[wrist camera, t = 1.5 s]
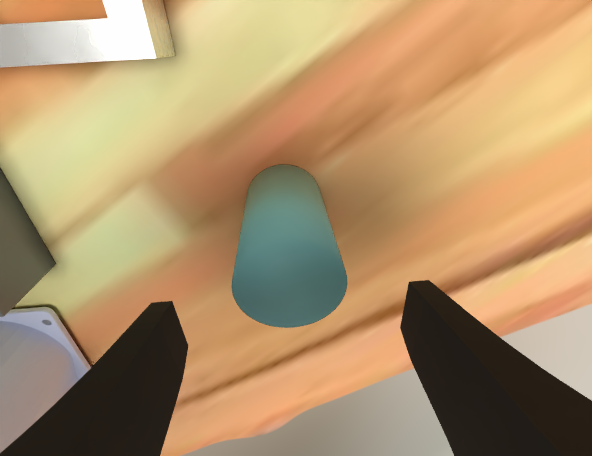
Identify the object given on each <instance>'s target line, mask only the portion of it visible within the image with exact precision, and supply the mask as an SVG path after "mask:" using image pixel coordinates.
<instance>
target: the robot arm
mask: <svg viewBox="0 0 592 456" xmlns="http://www.w3.org/2000/svg"><path fill="white" fill-rule="evenodd" d="M400 328H401V331H402V334H403V338H404V341H405V344H406V347H407V350H408V353H409V356H410V359H411V361H412V363H413V366H414V368H415V370H416V372H417V374H418V377H419V379H420V381H421V383H422V385H423V388H424V390H425V392H426V394H427V396H428V398H429V400H430V403H431V404H432V407H433V409H434V411H435V413H436V415H437V418H438V420H439V422H440V424H441V426H442V428H443V431H444V433H445V435H446V437H447V439H448V442H449V444H450V447H451V448H452V451H453V453H454V456H592V401H591V400H590V399H588V398H587V397H585V396H583V395H582V394H580V393H579V392H577V391H576V390H574V389H573V388H571V387H570V386H568V385H566V384H565V383H563V382H562V381H560V380H559V379H557V378H556V377H554V376H553V375H551V374H549V373H548V372H547V371H545V370H544V369H542V368H541V367H539V366H538V365H537V364H535V363H534V362H533V361H531V360H530V359H528V358H527V357H526V356H524V355H523V354H521V353H520V352H519V351H517V350H516V349H514V348H513V347H512V346H510V345H509V344H508V343H506V342H505V341H504V340H502V339H501V338H500V337H499V336H497V335H496V334H495V333H493V332H492V331H491V330H489V329H488V328H487V327H486V326H484V325H483V324H482V323H481V322H479V321H478V320H477V319H476V318H474V317H473V316H472V315H471V314H469V313H468V312H467V311H466V310H464V309H463V308H462V307H461V306H460V305H458V304H457V303H456V302H455V301H454V300H452V299H451V298H450V297H449V296H447V295H446V294H445V293H444V292H443V291H441V290H440V289H439V288H438V287H437V286H435V285H434V284H433V283H432V282H430V281H429V280H425V281H413V282H409V284H408V290H407V295H406V300H405V306H404V311H403V316H402V321H401V327H400ZM187 350H188V344H187V341H186V338H185V335H184V333H183V330H182V327H181V324H180V322H179V319H178V316H177V313H176V311H175V308H174V305H173V302H172V301H168V302H155V303H151V304H150V305H149V306H148V307H147V308H146V309H145V310H144V311H143V313H142V314H141V315H140V316H139V317H138V318H137V319H136V320H135V321H134V322H133V323H132V325H131V326H130V327H129V328H128V329H127V330H126V331H125V332H124V333H123V334H122V335H121V337H120V338H119V339H118V340H117V341H116V342H115V343H114V344H113V345H112V346H111V347H110V348H109V349H108V351H107V352H106V353H105V354H104V355H103V356H102V357H101V358H100V359H99V360H98V361H97V362H96V363H95V364H94V365H93V366H92V367H90V365H89V364H88V362H87V361H86V359H85V358H84V356H83V355H82V353H81V351H80V350H79V348H78V347H77V345H76V344H75V342H74V341H73V339H72V338H71V336H70V335H69V333H68V332H67V330H66V328H65V327H64V325H63V324H62V322H61V321H60V319H59V318H58V316H57V315H56V313H55V312H54V311H53V310H52V309H51V308H48V307H37V308H25V309H13V310H10V311H9V312H8V313H7V314H6V315H5V316H4V317H0V456H160V454H161V451H162V447H163V444H164V441H165V437H166V434H167V430H168V427H169V424H170V420H171V417H172V414H173V410H174V407H175V404H176V400H177V397H178V393H179V390H180V386H181V383H182V379H183V374H184V368H185V363H186V356H187Z"/></svg>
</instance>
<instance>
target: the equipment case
mask: <svg viewBox="0 0 592 456" xmlns="http://www.w3.org/2000/svg"><path fill="white" fill-rule="evenodd" d="M55 264H56V263H55V262H54V260H53V258H52V256H51V255H50V253H49V251H48V250H47V248H46V246H45V244H44V243H43V241H42V239H41V237H40V236H39V234H38V232H37V231H36V229H35V227H34V225H33V224H32V222H31V220H30V219H29V217H28V215H27V213H26V212H25V210H24V208H23V207H22V205H21V203H20V201H19V200H18V198H17V196H16V195H15V193H14V191H13V189H12V188H11V186H10V184H9V183H8V181H7V179H6V177H5V176H4V174H3V172H2V170H1V169H0V317H4V316H5V315H6V314H7V313H8V312H9V311H10V310H11V309H12V308H13V307H14V306H15V305H16V304H17V303H18V302H19V301H20V300H21V299H22V298H23V297H24V296H25V295H26V294H27V293H28V292H29V291H30V290H31V289H32V288H33V287H34V286H35V285H36V284H37V283H38V282H39V281H40V280H41V278H42V277H43V276H44V275H45V274H46V273H47V272H48V271H49V270H50V269H51V268H52V267H53V266H54V265H55Z"/></svg>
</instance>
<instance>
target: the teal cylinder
mask: <svg viewBox="0 0 592 456" xmlns="http://www.w3.org/2000/svg"><path fill="white" fill-rule="evenodd" d="M346 289H347V275H346V271H345V268H344V265H343V262H342V258H341V255H340V252H339V249H338V246H337V243H336V240H335V237H334V233H333V230H332V227H331V224H330V221H329V218H328V215H327V212H326V208H325V205H324V202H323V199H322V196H321V193H320V190H319V187H318V184H317V183H316V181H315V179H314V178H313V177H312V176H311V175H310V174H309V173H308V172H306V171H305V170H303V169H301V168H299V167H297V166H293V165H275V166H271V167H269V168H266V169H265V170H263V171H261V172H260V173H259V174H258V175H257V176H256V177H255V178H254V179H253V180H252V182H251V184H250V186H249V188H248V192H247V197H246V203H245V209H244V215H243V221H242V227H241V232H240V238H239V244H238V250H237V256H236V262H235V267H234V273H233V279H232V293H233V296H234V299H235V301H236V303H237V305H238V306H239V307H240V309H241V310H242V311H243V312H244V313H245V314H247V315H248V316H249V317H251V318H252V319H254V320H256V321H258V322H260V323H263V324H266V325H269V326H274V327H284V328H290V327H300V326H304V325H308V324H311V323H314V322H316V321H319V320H321V319H322V318H324V317H326V316H327V315H329V314H330V313H331V312H332V311H333V310H335V309H336V307H337V306H338V305H339V304H340V302H341V301H342V299H343V297H344V295H345V292H346Z"/></svg>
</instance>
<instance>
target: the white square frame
mask: <svg viewBox="0 0 592 456" xmlns="http://www.w3.org/2000/svg"><path fill="white" fill-rule="evenodd" d="M103 3H104V6H105V9H106V13H107V16H108V18H107V19H89V20H71V21H53V22H35V23H17V24H0V67H17V66H34V65H50V64H67V63H84V62H100V61H117V60H134V59H150V58H161V57H170V56H175V51H174V47H173V42H172V38H171V33H170V29H169V24H168V20H167V15H166V11H165V6H164V2H163V0H103Z"/></svg>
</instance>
